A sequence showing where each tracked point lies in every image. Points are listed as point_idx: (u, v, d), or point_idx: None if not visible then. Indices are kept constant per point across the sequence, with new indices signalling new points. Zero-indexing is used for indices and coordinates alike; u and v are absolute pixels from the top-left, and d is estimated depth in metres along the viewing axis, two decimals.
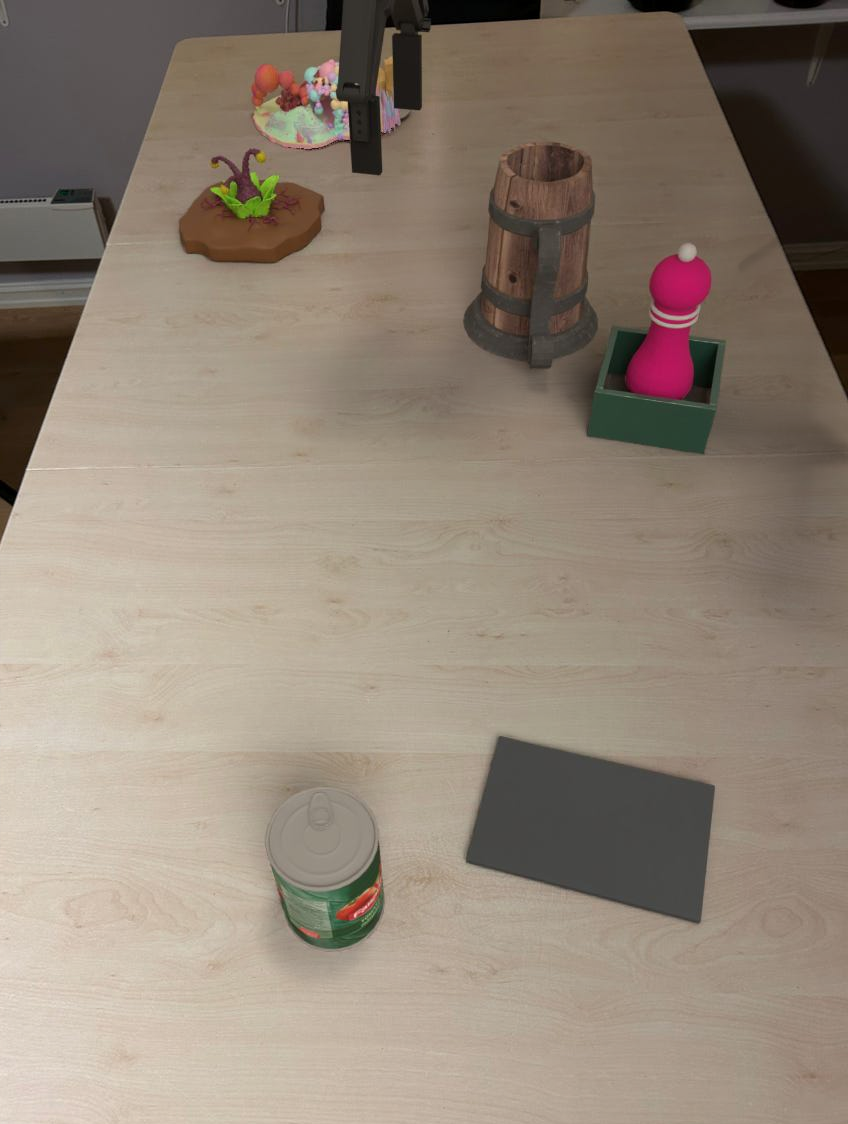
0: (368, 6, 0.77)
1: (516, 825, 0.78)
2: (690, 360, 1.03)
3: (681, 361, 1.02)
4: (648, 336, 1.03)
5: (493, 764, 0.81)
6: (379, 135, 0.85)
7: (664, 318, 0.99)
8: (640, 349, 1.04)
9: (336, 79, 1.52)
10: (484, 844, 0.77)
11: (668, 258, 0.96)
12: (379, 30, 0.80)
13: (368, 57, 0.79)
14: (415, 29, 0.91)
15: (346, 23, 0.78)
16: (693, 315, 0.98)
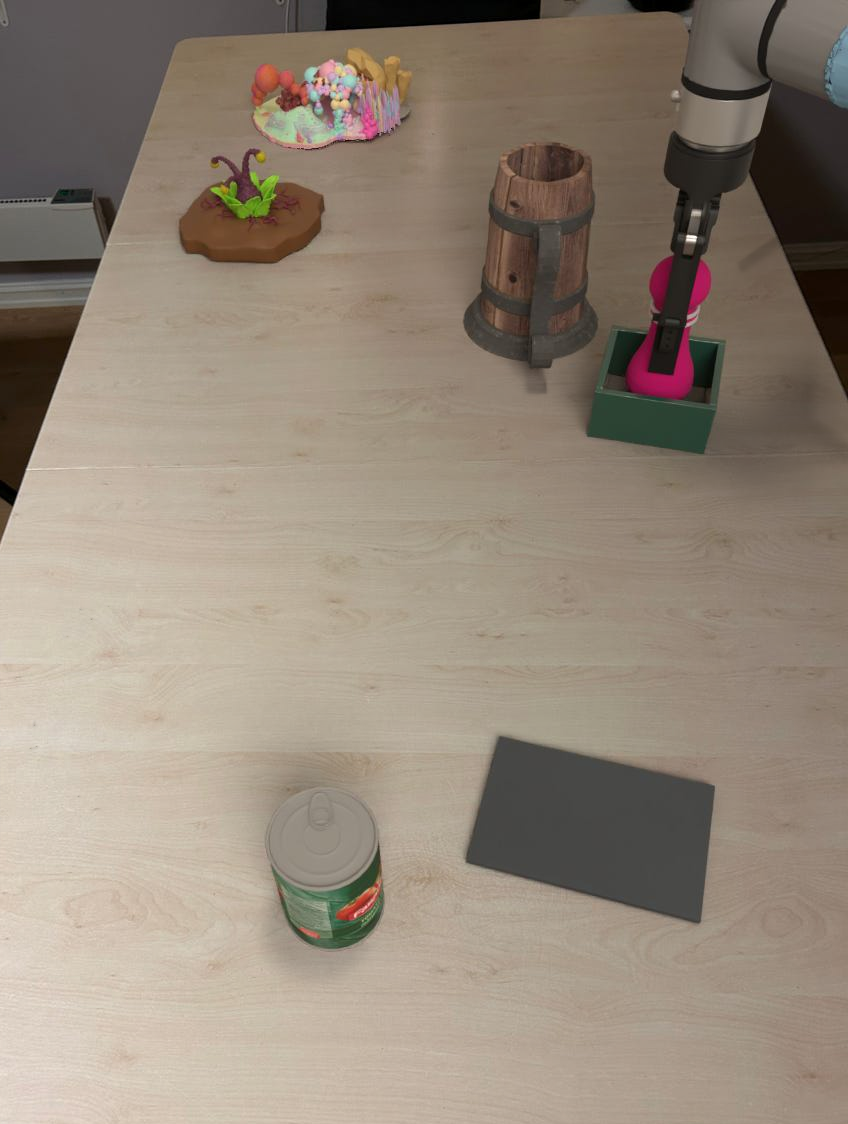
0: (695, 267, 0.90)
1: (516, 825, 0.78)
2: (690, 360, 1.03)
3: (681, 361, 1.02)
4: (648, 336, 1.03)
5: (493, 764, 0.81)
6: None
7: None
8: (640, 349, 1.04)
9: (336, 79, 1.52)
10: (484, 844, 0.77)
11: (667, 259, 0.96)
12: None
13: (690, 300, 0.92)
14: None
15: (673, 277, 0.91)
16: (693, 315, 0.98)
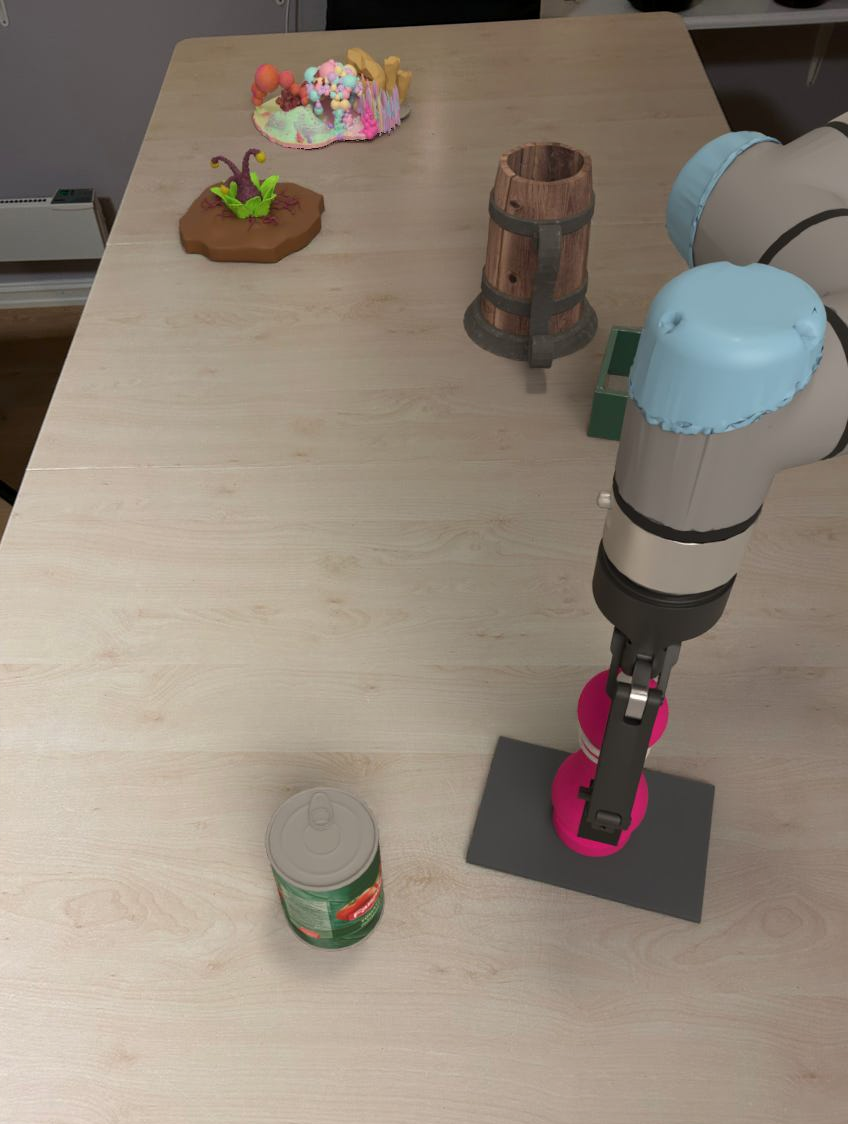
0: (645, 737, 0.54)
1: (516, 825, 0.78)
2: (642, 787, 0.71)
3: None
4: (580, 757, 0.70)
5: (493, 764, 0.81)
6: None
7: None
8: (570, 767, 0.72)
9: (336, 79, 1.52)
10: (484, 844, 0.77)
11: (603, 681, 0.64)
12: None
13: (637, 787, 0.56)
14: None
15: (610, 749, 0.55)
16: None
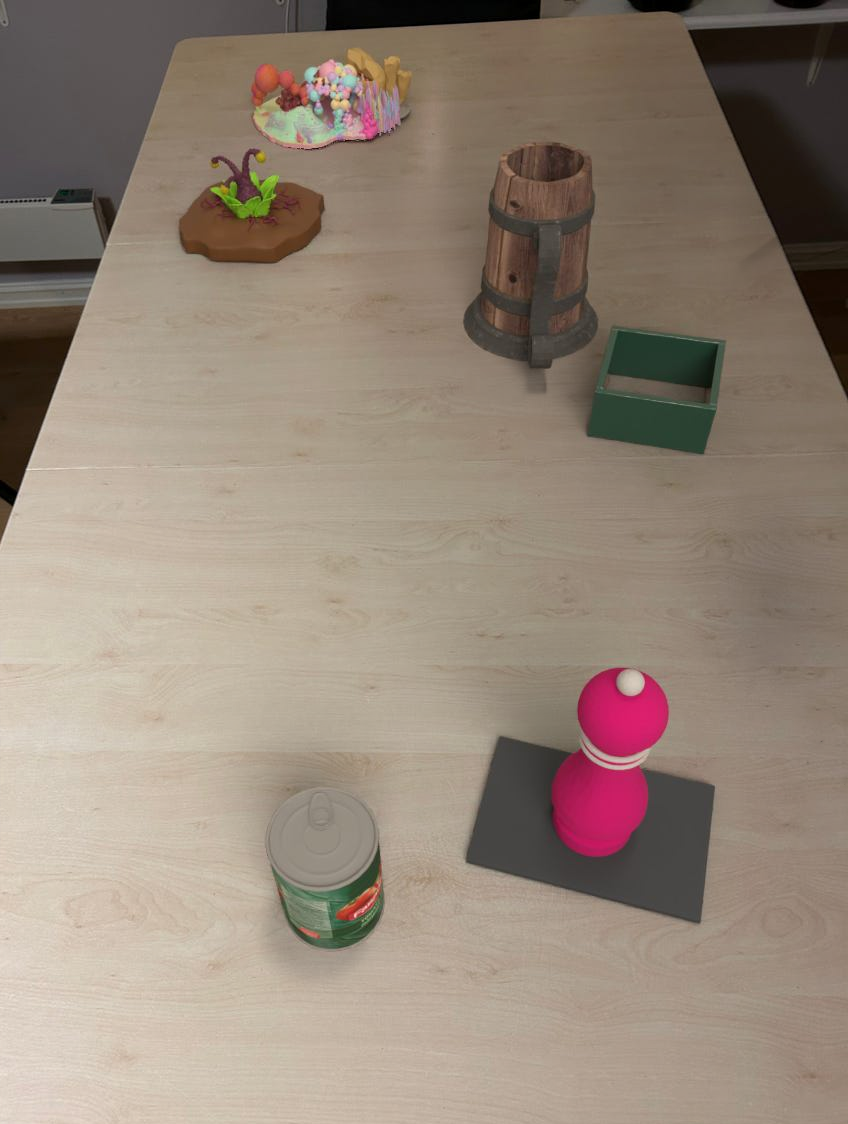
0: None
1: (516, 825, 0.78)
2: (642, 788, 0.71)
3: (627, 796, 0.70)
4: (580, 757, 0.70)
5: (493, 764, 0.81)
6: None
7: (600, 756, 0.66)
8: (570, 767, 0.72)
9: (336, 79, 1.52)
10: (484, 844, 0.77)
11: (603, 682, 0.64)
12: None
13: None
14: None
15: None
16: (642, 755, 0.66)
